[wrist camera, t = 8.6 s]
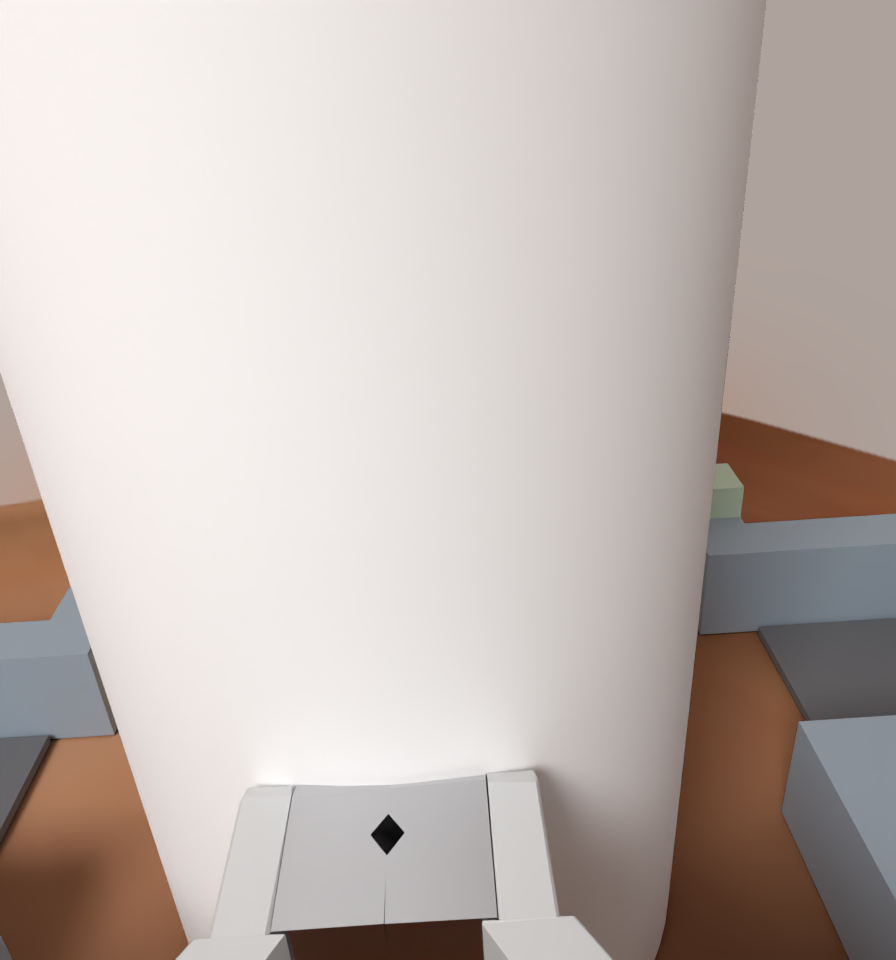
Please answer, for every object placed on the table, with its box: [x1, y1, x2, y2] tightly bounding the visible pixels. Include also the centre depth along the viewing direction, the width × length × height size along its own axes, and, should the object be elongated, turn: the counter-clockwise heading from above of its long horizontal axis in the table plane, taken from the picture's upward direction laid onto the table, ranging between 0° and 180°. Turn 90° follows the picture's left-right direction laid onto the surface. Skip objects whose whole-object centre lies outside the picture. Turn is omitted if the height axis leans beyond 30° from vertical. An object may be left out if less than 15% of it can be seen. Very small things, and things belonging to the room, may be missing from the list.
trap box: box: [0, 463, 896, 960], centre depth 15 cm, size 26×14×3 cm, turn 92°
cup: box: [0, 0, 766, 960], centre depth 11 cm, size 8×8×16 cm
